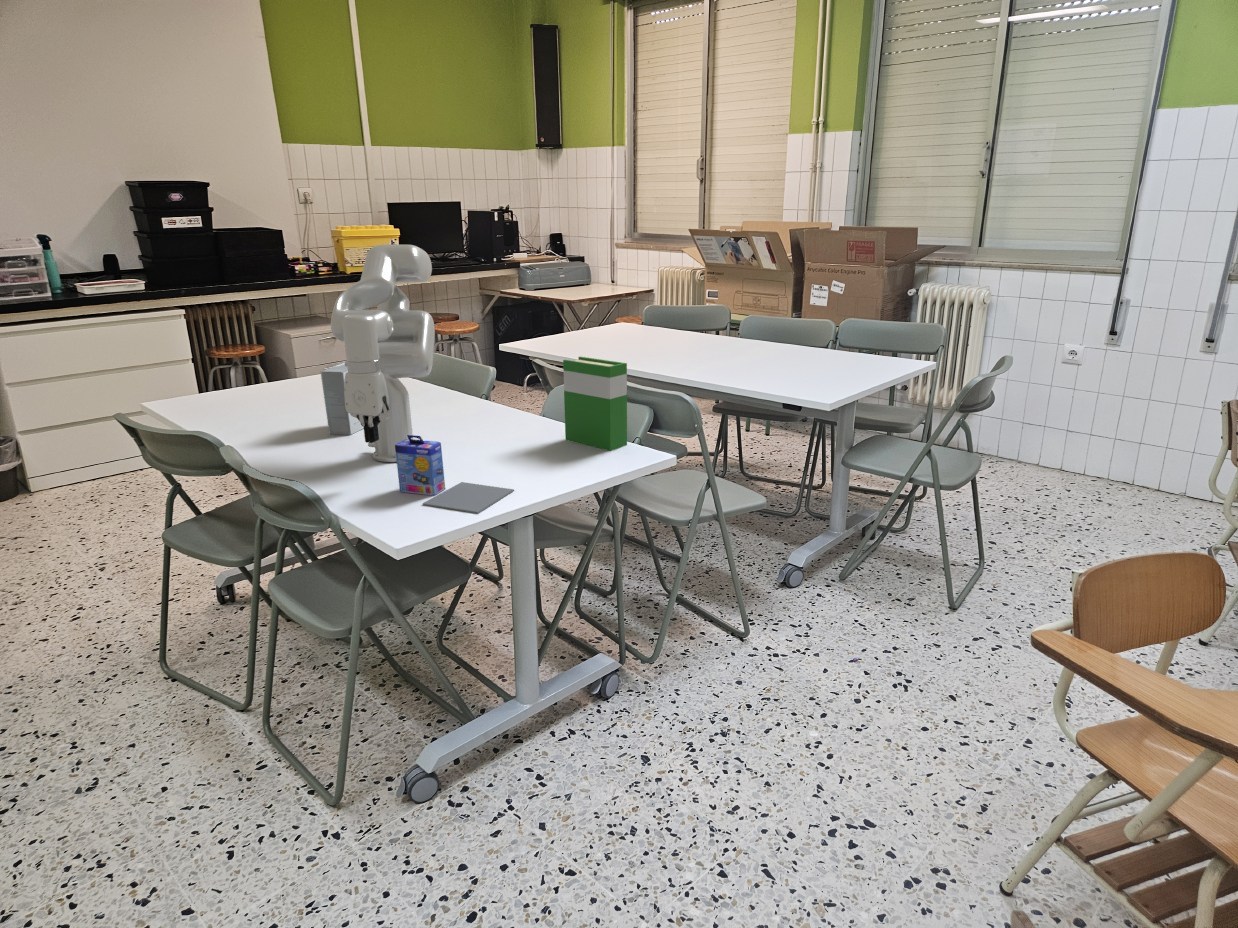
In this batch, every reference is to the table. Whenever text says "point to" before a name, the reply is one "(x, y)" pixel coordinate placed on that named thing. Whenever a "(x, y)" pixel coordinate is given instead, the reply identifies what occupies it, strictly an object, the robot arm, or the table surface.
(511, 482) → the table surface
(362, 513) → the table surface
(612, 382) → the hardback book
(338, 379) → the hard drive box
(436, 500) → the mat
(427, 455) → the ink cartridge box
